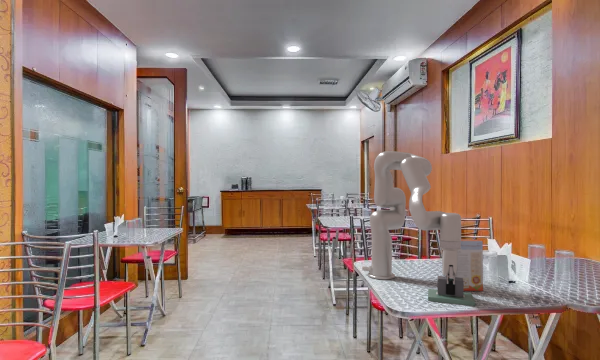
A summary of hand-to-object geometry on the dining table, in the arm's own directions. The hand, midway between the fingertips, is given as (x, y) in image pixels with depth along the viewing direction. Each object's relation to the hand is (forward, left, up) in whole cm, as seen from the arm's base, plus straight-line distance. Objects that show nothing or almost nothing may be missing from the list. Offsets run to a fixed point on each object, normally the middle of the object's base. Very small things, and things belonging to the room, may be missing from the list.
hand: (450, 292), depth 140 cm
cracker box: (+6, +16, -3) cm, 18 cm away
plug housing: (0, 0, -1) cm, 1 cm away
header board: (0, 0, -3) cm, 3 cm away
